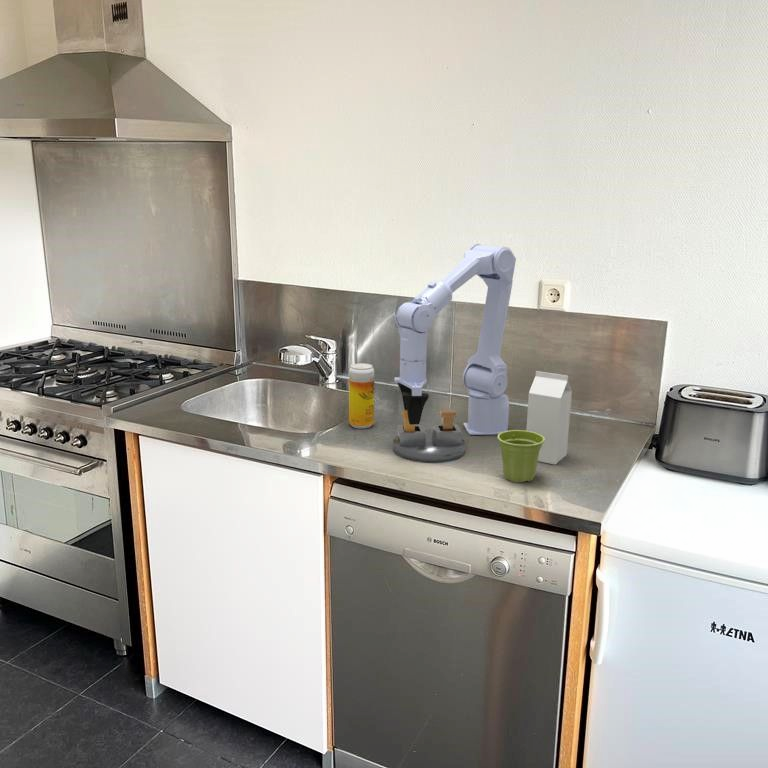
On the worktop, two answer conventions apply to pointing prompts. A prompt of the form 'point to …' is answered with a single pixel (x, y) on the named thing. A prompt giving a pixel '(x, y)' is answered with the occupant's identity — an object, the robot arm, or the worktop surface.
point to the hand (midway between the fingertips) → (412, 418)
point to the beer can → (361, 395)
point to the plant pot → (520, 454)
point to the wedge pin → (407, 422)
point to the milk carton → (550, 414)
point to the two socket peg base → (431, 441)
